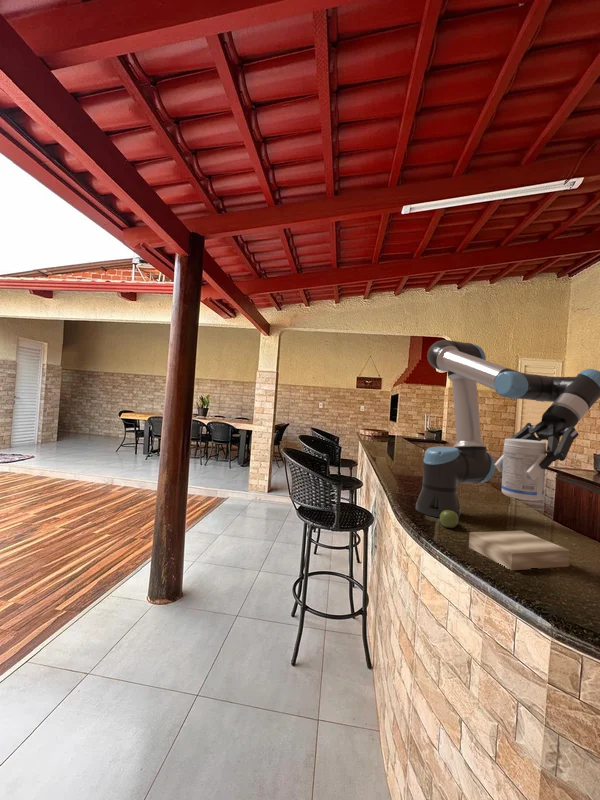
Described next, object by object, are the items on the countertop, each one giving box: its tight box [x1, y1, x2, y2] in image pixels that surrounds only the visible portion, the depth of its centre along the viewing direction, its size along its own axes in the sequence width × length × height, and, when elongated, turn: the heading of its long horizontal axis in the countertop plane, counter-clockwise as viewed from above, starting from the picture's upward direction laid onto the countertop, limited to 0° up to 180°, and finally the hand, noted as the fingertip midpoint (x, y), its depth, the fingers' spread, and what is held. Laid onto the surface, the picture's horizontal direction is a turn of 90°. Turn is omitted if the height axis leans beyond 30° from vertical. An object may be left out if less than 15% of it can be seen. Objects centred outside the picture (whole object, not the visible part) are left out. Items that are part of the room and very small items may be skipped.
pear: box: [439, 510, 460, 529], centre depth 121 cm, size 6×5×10 cm
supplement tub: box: [501, 438, 547, 501], centre depth 98 cm, size 10×10×15 cm
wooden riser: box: [468, 530, 571, 571], centre depth 97 cm, size 14×18×4 cm
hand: (513, 471), depth 97 cm, fingers closed on supplement tub, 9 cm apart
